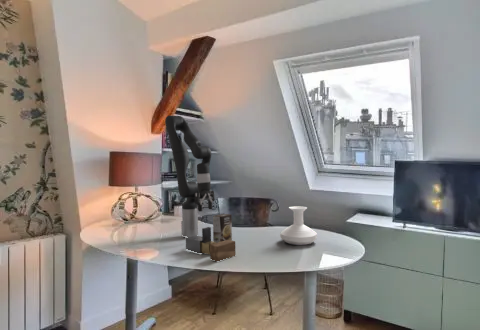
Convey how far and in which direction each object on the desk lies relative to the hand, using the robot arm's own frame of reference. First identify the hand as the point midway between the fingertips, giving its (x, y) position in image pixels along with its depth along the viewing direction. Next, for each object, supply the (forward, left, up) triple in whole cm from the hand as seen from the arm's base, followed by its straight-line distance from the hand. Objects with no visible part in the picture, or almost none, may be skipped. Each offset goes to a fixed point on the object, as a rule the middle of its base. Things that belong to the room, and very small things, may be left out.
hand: (205, 210), depth 191 cm
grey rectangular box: (+12, -17, -18) cm, 27 cm away
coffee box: (+12, +1, -18) cm, 22 cm away
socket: (+29, -17, -18) cm, 38 cm away
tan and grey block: (+15, -17, -17) cm, 28 cm away
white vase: (+43, +29, -18) cm, 55 cm away
